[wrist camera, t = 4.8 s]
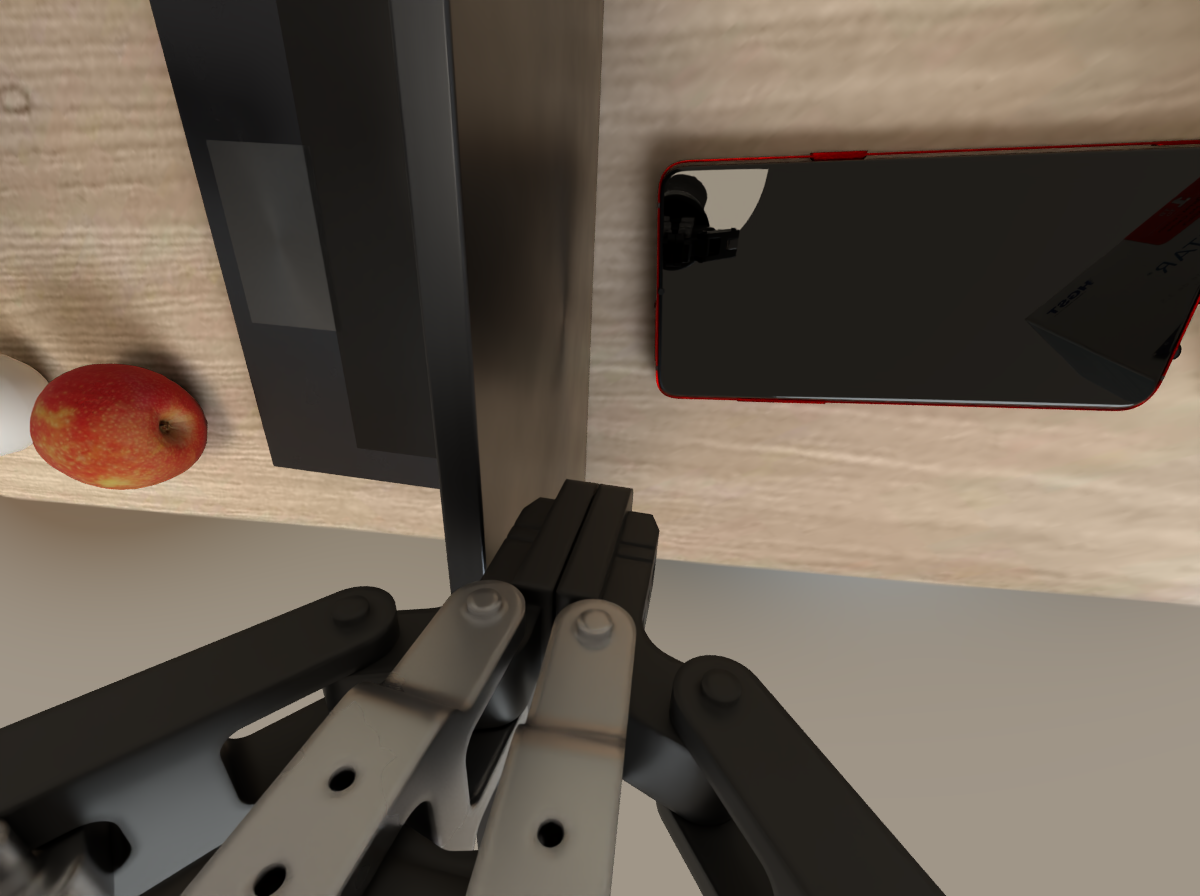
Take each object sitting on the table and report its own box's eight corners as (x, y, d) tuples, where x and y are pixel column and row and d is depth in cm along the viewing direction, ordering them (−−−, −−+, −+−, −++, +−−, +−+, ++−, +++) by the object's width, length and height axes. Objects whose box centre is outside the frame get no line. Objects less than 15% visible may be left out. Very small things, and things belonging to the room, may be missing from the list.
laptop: (290, 454, 40) (272, 466, 38) (150, -111, 26) (112, -130, 24) (575, 492, 37) (569, 508, 36) (594, -117, 23) (585, -138, 21)
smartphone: (1157, 417, 28) (653, 402, 32) (1135, 404, 29) (655, 392, 33) (1290, 133, 22) (655, 158, 26) (1255, 134, 23) (657, 158, 27)
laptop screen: (478, 888, 17) (506, 892, 17) (160, -1914, 3) (322, -1941, 3) (570, 507, 36) (584, 508, 36) (586, -136, 21) (609, -136, 21)
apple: (110, 338, 38) (-25, 379, 31) (222, 363, 37) (111, 410, 30) (139, 439, 42) (25, 496, 35) (241, 464, 41) (146, 526, 34)
